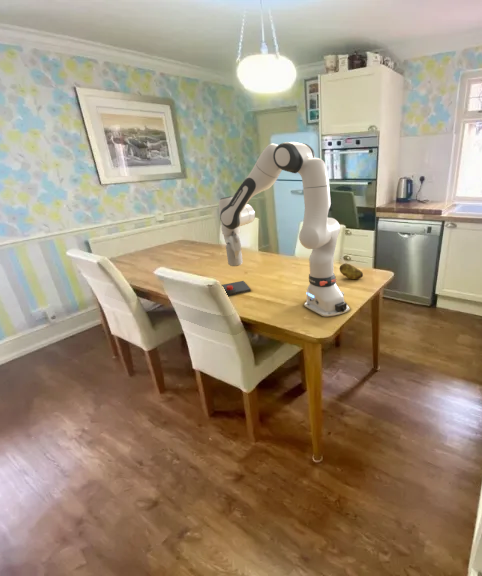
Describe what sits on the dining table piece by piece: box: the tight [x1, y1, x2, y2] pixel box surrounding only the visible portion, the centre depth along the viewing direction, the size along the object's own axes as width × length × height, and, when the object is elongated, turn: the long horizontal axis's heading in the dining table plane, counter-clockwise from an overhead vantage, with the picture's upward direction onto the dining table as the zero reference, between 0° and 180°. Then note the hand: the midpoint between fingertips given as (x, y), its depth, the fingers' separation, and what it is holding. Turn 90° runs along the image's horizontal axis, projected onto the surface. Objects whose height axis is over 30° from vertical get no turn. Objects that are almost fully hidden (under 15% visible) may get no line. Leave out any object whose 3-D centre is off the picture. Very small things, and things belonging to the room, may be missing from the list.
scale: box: [221, 280, 251, 297], centre depth 169 cm, size 15×13×3 cm
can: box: [225, 243, 244, 267], centre depth 165 cm, size 8×8×12 cm
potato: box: [339, 263, 364, 280], centre depth 179 cm, size 8×13×8 cm, turn 50°
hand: (234, 256), depth 165 cm, fingers closed on can, 7 cm apart
